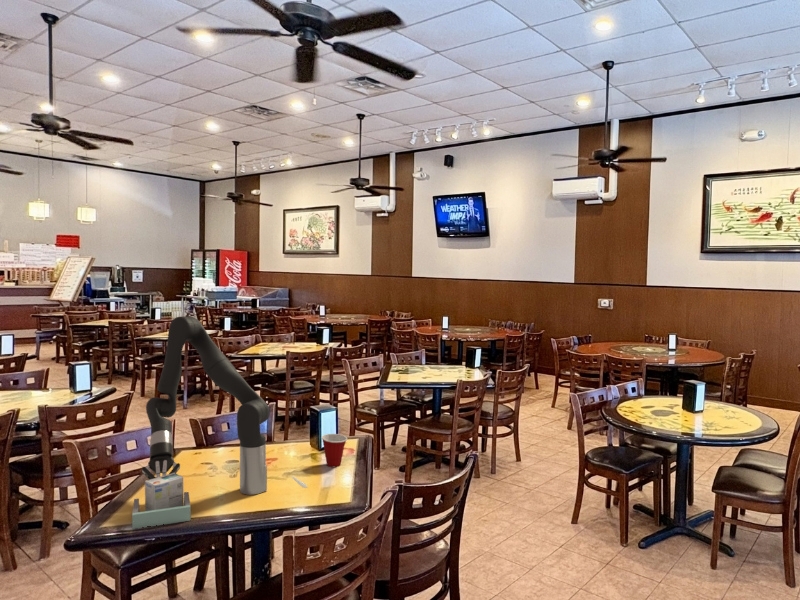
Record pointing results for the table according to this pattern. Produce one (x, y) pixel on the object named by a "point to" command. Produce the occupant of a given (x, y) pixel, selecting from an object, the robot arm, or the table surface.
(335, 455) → the plastic cup
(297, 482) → the butter knife
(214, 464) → the table surface
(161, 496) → the light bulb box
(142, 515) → the cradle
